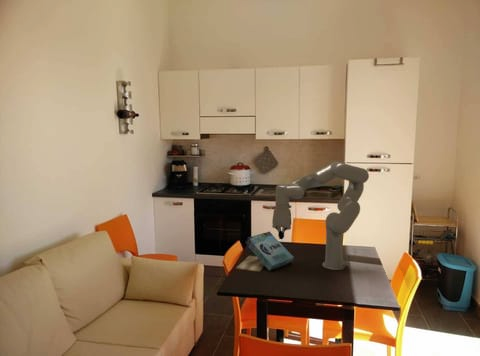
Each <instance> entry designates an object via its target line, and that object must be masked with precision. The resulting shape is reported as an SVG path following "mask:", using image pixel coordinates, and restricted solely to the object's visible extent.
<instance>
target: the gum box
mask: <svg viewBox="0 0 480 356" xmlns="http://www.w3.org/2000/svg"><path fill="white" fill-rule="evenodd" d="M245 245H247V247H248V248H249V249H250V250H251V251H252V252H253V254H254V256H255V257H258V258H259V260H260V261H261V262H262V263H263V264H264V265H265V266H264V268H266V269H267V270H268V272H271V271H273V270H276V269H279V268H281V267H283V266H286V265H289V264H291V263H292V262H293V260H294V258H295V257H294V256H293V255H292V253H291V252H289V251H288V250H287V248H285V246H284V245H283V244H282V243H281V242H280V241H279V239H277V238H276V237H275V236H274V234H272V233H271V231H267V232H263V233H260V234H256V235H253V236H249V237H247V238H246V241H245Z"/></svg>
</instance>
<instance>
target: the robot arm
mask: <svg viewBox="0 0 480 356" xmlns="http://www.w3.org/2000/svg"><path fill="white" fill-rule="evenodd" d="M369 177H370V173H369V172H368V170H367V169H366V168H362V167H359V166H354V165H351V164H347V163H345V162H344V163H343V162H340V161H334V162H331V163H330V164H328V165H326V166H324V167H322V168H320V169H319V170H317V171H314V172H312V173H310V174H308V175H305V176H302V177H301V178H298V179H296V180H294V181H293V182H291V183H290V184H278V185H276V187H275V208H274V209H273V213H272V223H271V224H272V226H271V227H272V228H273V229H275V230H276V231H277V232H278V234H277V235H278V238H279V239H278V240H283V239H284V238H285V232H286V231H289V230H291V229H292V211H291V209H292V205H290V199H294V200H298V199H301V198H303V197H304V196H305V191H306V190H308V189H311V188H318V187H322V186H325V185H326V184H329V183H330V182H332V181H333V180H335V179H337V178H338V179H341V180H344V181H347V182H348V185H347V188H346V189H345V191H344V193H343V195H342V196H341V198H340V199H339V201H337V202H338V203H337V205H336V206H337V209H338V210H339V213H338V212H335V211H334V212H330V213H328V215H326V218H325V233H326V234H325V235H326V236H325V257H324V259H325V261H323V262H322V264H321V265H322V267H323V268H324V269H327V270H331V271H341V270H344V269H345V268H346V267H351V262H349V261H347V260H346V261H345V260H344V258H343V253H344V252H343V251H344V250H343V247H344V246H343V245H344V234H345V233H347V232H348V231H349V230H350V228H351V227H352V225H354V222H355V221H356V219H357V218H358V216H359V214H360V212H361V205H360V203H359V202H358V201H359V200H360V198H361V197H362V194H363V192H364V189H365V188H364V187H365V186H364V185H365V183H366V182H368V180H369Z"/></svg>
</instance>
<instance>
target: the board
mask: <svg viewBox="0 0 480 356" xmlns="http://www.w3.org/2000/svg"><path fill="white" fill-rule="evenodd" d="M264 268H265V265H264V264H263V263H262V262H261V261H260V260H259V258H258V257H257V256H256V255H248V256H247V257H246V258H245V259H244V260H242V262H241V263H239V264H238V265H237V266H236V267H235V269H236V270H244V271H249V272H255V273H256V272H257V273H260V272H261V271H262V270H263V269H264Z"/></svg>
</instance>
